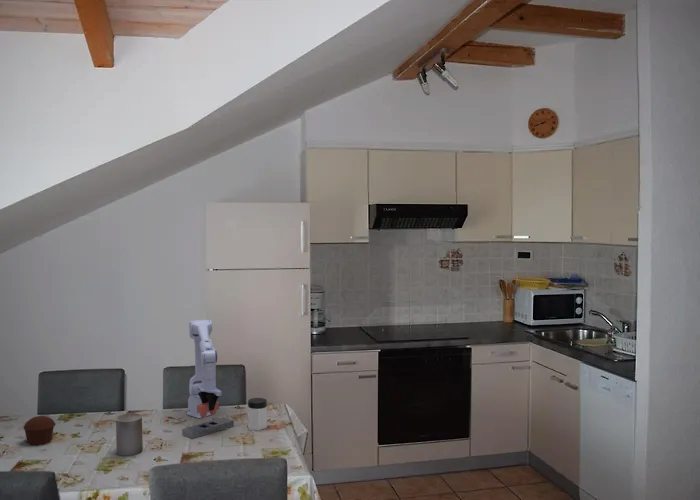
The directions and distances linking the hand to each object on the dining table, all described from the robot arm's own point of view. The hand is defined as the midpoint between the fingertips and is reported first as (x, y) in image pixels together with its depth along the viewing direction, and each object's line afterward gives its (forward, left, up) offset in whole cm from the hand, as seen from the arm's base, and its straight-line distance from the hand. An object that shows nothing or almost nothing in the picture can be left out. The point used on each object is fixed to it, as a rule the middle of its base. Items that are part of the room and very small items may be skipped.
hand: (208, 409), depth 278 cm
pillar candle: (-3, -36, -10) cm, 37 cm away
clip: (0, 0, -2) cm, 3 cm away
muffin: (-39, -54, -10) cm, 67 cm away
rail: (0, 0, -9) cm, 9 cm away
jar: (+12, +17, -10) cm, 23 cm away
